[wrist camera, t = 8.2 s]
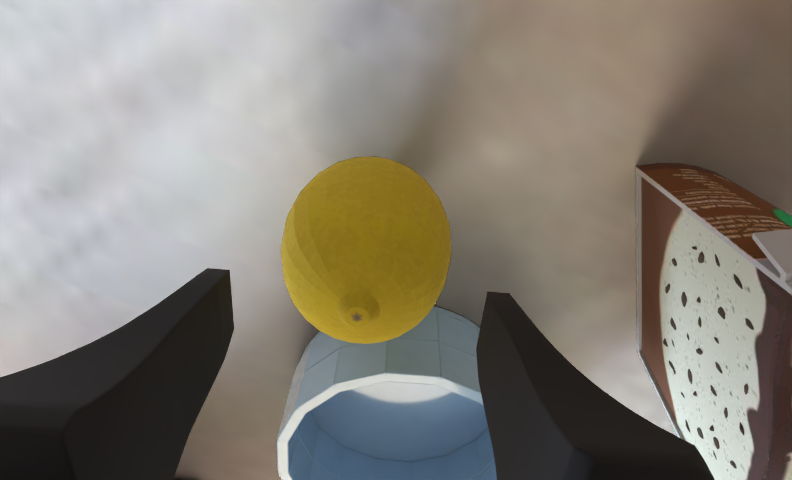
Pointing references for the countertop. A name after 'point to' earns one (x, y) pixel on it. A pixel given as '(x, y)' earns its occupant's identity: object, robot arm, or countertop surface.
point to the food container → (717, 317)
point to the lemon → (366, 250)
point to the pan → (389, 408)
